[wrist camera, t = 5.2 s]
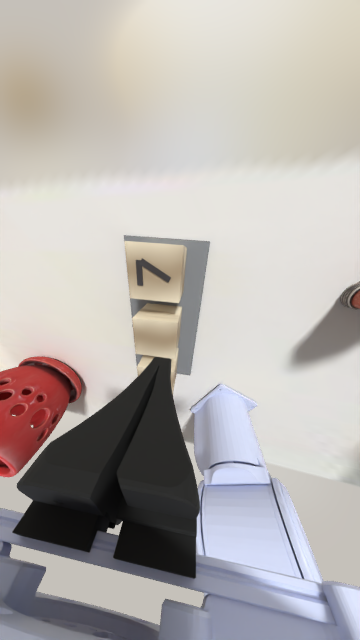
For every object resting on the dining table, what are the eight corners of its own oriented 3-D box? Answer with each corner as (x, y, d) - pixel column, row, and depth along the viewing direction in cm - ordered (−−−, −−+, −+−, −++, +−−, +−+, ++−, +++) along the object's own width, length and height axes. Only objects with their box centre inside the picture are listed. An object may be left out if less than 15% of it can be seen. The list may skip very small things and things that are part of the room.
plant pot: (82, 355, 23) (-17, 441, 12) (92, 400, 29) (32, 486, 18) (11, 340, 23) (-145, 412, 13) (36, 388, 29) (-57, 465, 19)
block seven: (183, 291, 16) (178, 303, 12) (146, 287, 16) (129, 298, 12) (187, 248, 14) (183, 245, 10) (144, 245, 14) (123, 240, 10)
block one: (176, 370, 21) (172, 396, 17) (149, 366, 22) (139, 391, 18) (178, 348, 19) (174, 372, 15) (149, 344, 20) (136, 367, 16)
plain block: (179, 336, 19) (175, 359, 15) (148, 332, 19) (135, 353, 15) (182, 306, 17) (177, 323, 13) (147, 303, 17) (132, 317, 13)
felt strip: (190, 373, 22) (190, 375, 22) (138, 365, 23) (137, 367, 22) (209, 241, 14) (209, 241, 13) (125, 235, 14) (123, 235, 14)
